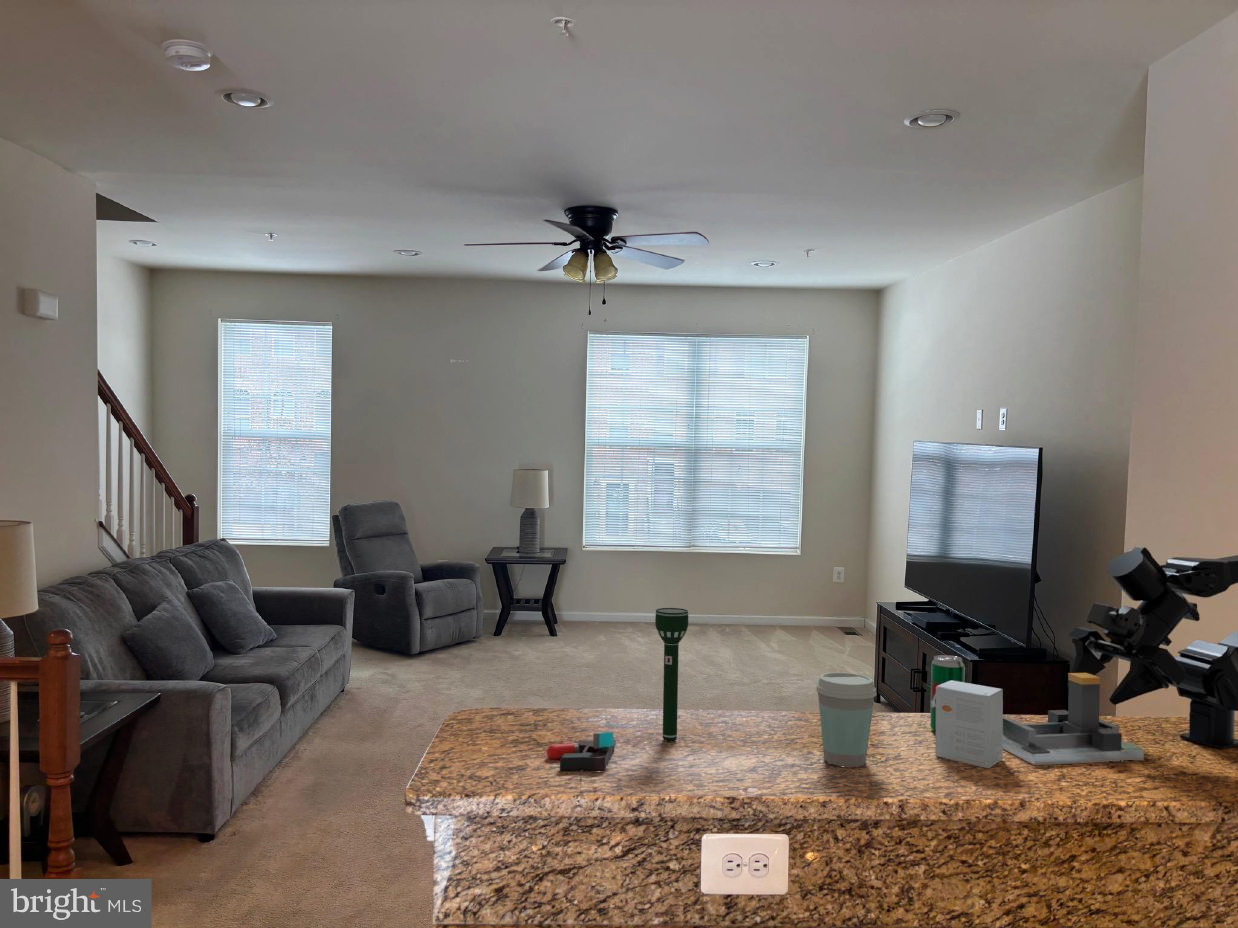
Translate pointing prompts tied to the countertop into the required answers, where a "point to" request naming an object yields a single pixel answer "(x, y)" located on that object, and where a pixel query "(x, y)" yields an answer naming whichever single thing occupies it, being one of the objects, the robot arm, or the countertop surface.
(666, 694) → the flashlight
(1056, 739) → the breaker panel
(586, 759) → the toy gun
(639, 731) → the countertop surface
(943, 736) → the small box
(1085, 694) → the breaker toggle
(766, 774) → the countertop surface
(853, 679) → the coffee cup
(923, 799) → the countertop surface
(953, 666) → the soda can
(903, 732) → the countertop surface
